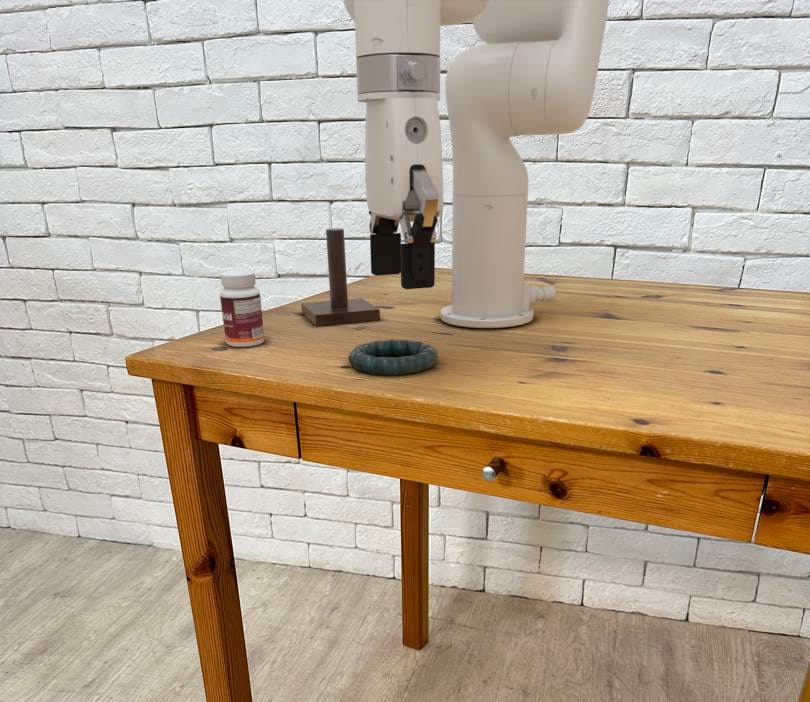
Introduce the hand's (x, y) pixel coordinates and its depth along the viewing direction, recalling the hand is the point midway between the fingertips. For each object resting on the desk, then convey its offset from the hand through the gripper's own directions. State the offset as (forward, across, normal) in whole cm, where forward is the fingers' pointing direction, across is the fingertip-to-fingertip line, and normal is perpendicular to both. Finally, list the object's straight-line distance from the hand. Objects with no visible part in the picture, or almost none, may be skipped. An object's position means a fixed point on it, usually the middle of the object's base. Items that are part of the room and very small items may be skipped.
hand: (401, 280), depth 77 cm
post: (+9, +31, -1) cm, 33 cm away
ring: (+9, +4, 0) cm, 10 cm away
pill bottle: (+10, +21, +13) cm, 27 cm away
